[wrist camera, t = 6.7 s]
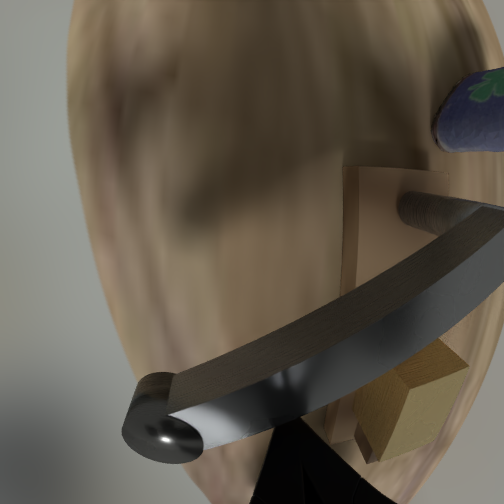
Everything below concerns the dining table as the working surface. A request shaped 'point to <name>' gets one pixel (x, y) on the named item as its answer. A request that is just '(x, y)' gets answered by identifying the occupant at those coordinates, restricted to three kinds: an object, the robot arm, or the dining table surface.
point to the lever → (328, 340)
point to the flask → (472, 114)
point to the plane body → (375, 254)
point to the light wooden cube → (410, 400)
